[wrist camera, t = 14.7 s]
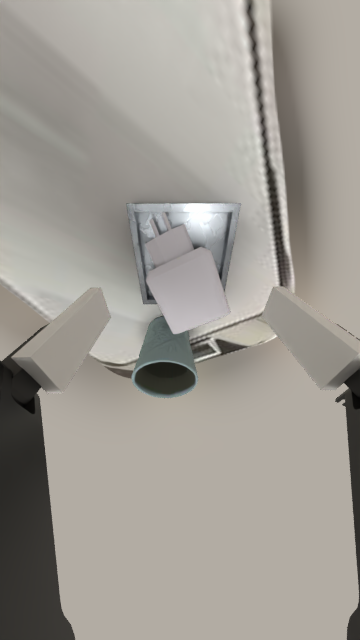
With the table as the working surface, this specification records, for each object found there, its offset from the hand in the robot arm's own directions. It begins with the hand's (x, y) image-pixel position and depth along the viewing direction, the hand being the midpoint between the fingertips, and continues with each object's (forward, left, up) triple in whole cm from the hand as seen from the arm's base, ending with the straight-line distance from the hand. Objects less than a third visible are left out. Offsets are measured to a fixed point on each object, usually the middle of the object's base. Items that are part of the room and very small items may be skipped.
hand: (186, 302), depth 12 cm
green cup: (+15, -3, -15) cm, 21 cm away
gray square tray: (0, 0, -14) cm, 14 cm away
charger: (+2, 0, -13) cm, 13 cm away
